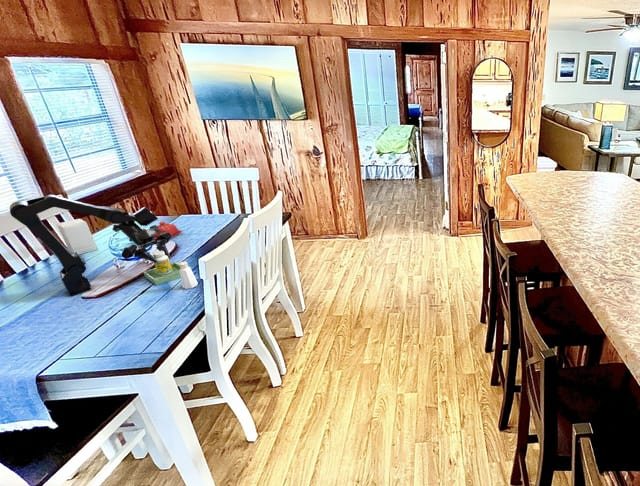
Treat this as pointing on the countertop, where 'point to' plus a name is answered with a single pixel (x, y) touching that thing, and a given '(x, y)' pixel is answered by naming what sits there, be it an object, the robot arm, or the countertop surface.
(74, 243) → the rectangular carton
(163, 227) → the butter dish
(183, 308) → the countertop surface
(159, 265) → the supplement bottle
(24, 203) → the robot arm
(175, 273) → the green tray
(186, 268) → the pepper shaker
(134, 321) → the countertop surface
